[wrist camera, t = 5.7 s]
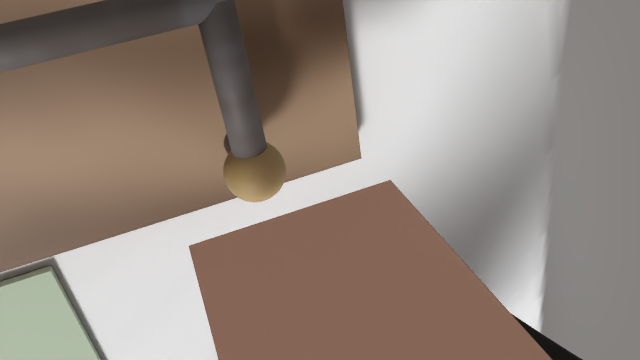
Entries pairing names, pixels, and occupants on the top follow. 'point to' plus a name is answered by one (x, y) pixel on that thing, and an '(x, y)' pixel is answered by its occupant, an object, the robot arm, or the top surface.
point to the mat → (40, 320)
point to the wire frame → (161, 111)
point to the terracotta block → (351, 288)
